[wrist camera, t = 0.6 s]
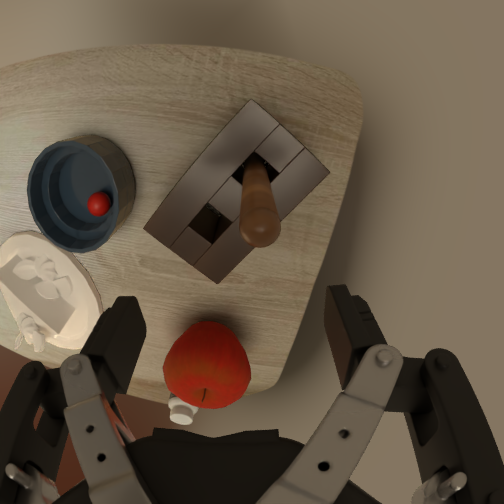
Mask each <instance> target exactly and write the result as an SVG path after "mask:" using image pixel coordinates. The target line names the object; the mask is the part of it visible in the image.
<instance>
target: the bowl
mask: <svg viewBox="0 0 504 504" xmlns="http://www.w3.org/2000/svg"><path fill="white" fill-rule="evenodd" d="M95 192H104V193H105V194H107V195H108V197H109V198H110V202H111V206H110V209H109V211H108V212H107V213H106V214H105V215H103V216H99V217H98V216H94V215H92V214H91V213H90V212H89V210H88V207H87V203H88V199H89V197H90V196H91V195H92V194H93V193H95ZM27 195H28V203H29V208H30V211H31V213H32V216H33V219H34V221H35V223H36V225H37V226H38V228H39V229H40V231H41V232H42V233H43V235H44V236H45V237H46V238H47V239H48V240H50V241H51V242H52V243H53V244H54V245H56V246H57V247H59V248H61V249H64V250H66V251H68V252H74V253H86V252H90V251H94V250H96V249H98V248H99V247H100V246H102V245H103V244H104V243H106V242H107V241H108V240H109V239H110V237H111V236H112V235H113V234H114V233H115V232H116V231H117V230H118V229H119V228H120V227H121V226H122V225H123V223H124V222H125V220H126V219H127V217H128V216H129V214H130V212H131V210H132V206H133V202H134V199H135V180H134V176H133V173H132V170H131V167H130V164H129V162H128V160H127V159H126V157H125V156H124V154H123V153H122V151H121V150H120V149H119V148H118V147H117V146H115V145H114V144H113V143H112V142H110V141H109V140H108V139H105V138H102V137H99V136H96V135H83V136H77V137H73V138H69V139H65V140H62V141H58V142H56V143H54V144H52V145H50V146H49V147H47V148H45V149H44V150H43V151H42V152H41V153H40V155H39V156H38V157H37V158H36V159H35V161H34V163H33V166H32V168H31V171H30V173H29V177H28V186H27Z"/></svg>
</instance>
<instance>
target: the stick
mask: <svg viewBox="0 0 504 504" xmlns="http://www.w3.org/2000/svg"><path fill="white" fill-rule="evenodd" d="M280 230H281V223H280V219H279V215H278V211H277V208H276V204H275V200H274V196H273V193H272V189H271V185H270V182H269V178H268V174H267V171H266V167H265V163H264V160H263V158H262V157H261V156H260V155H258V154H257V153H251V154H250V156H249V157H248V158H247V159H246V160H245V163H244V174H243V185H242V196H241V207H240V218H239V231H240V235H241V237H242V238H243V240H244V241H245V242H246V243H247V244H249V245H250V246H253V247H257V248H262V247H267V246H269V245H271V244H272V243H274V242H275V241H276V239H277V238H278V236H279V234H280Z"/></svg>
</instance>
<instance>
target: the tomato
mask: <svg viewBox="0 0 504 504" xmlns="http://www.w3.org/2000/svg"><path fill="white" fill-rule="evenodd" d="M110 206H111V202H110V198H109V197H108V195H107V194H105V193H104V192H95V193H93V194H92V195H91V196H90V197H89V199H88V203H87V207H88V210H89V212H90V213H91V214H92V215H94V216H98V217H99V216H103V215H105V214H106V213H107V212H108V211H109V209H110Z"/></svg>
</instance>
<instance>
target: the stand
mask: <svg viewBox="0 0 504 504" xmlns="http://www.w3.org/2000/svg"><path fill="white" fill-rule="evenodd" d="M253 151H255V152H256V153H257V154H258V155H260V156H261V157H262V158H263V159H264V160H265V161H266V162H268V163H269V164H268V166H267V167H266V171H267V174H268V178H269V182H270V185H271V189H272V193H273V196H274V200H275V204H276V208H277V211H278V215H279V219H280V222H281V221H282V220H283V219H284V218H285V217H286V216H287V215H288V214H289V213H290V212H291V211H292V210H293V209H294V208H295V207H296V206H297V205H298V204H299V203H300V202H301V201H302V200H303V199H304V198H305V197H306V196H307V195H308V194H309V193H310V192H311V191H312V190H313V189H314V188H315V187H316V186H317V185H318V184H319V183H320V182H321V181H322V180H323V179H324V178H325V177H326V176H327V175H328V174H329V173H330V171H329V170H328V169H327V168H326V167H325V166H324V165H323V164H322V163H321V162H320V161H319V160H318V159H317V158H316V157H315V156H314V155H313V154H312V153H311V152H310V151H309V150H308V149H307V148H306V147H305V146H304V145H303V144H302V143H300V142H299V141H298V140H297V139H296V138H295V137H294V136H293V135H292V134H291V133H290V132H289V131H288V130H287V129H285V128H284V127H283V126H282V125H281V124H280V123H279V122H278V121H277V120H276V119H274V118H273V117H272V116H271V115H270V114H269V113H268V112H267V111H265V110H264V109H263V108H262V107H261V106H260V105H258V104H257V103H256V102H255V101H254V100H253V99H250V100H249V101H248V102H247V103H246V104H245V105H244V106H243V108H242V109H241V110H240V111H239V112H238V113H237V114H236V115H235V116H234V117H233V118H232V119H231V120H230V122H229V123H228V124H227V125H226V126H225V127H224V128H223V129H222V130H221V132H220V133H219V134H218V135H217V136H216V137H215V138H214V139H213V141H212V142H211V143H210V144H209V145H208V146H207V148H206V149H205V150H204V151H203V152H202V153H201V155H200V156H199V157H198V158H197V159H196V161H195V162H194V163H193V164H192V165H191V167H190V168H189V169H188V170H187V172H186V173H185V174H184V175H183V176H182V178H181V179H180V180H179V181H178V183H177V184H176V185H175V187H174V188H173V189H172V190H171V192H170V193H169V194H168V196H167V197H166V198H165V199H164V201H163V202H162V203H161V205H160V206H159V207H158V209H157V210H156V211H155V213H154V214H153V215H152V217H151V218H150V220H149V221H148V222H147V224H146V225H145V226H144V228H143V229H144V230H145V231H147V232H148V233H149V234H150V235H152V236H153V237H154V238H156V239H157V240H158V241H159V242H161V243H162V244H163V245H165V246H166V247H167V248H169V249H170V250H172V251H173V252H174V253H176V254H177V255H178V256H180V257H181V258H182V259H184V260H185V261H186V262H188V263H189V264H190V265H192V266H193V267H194V268H196V269H197V270H198V271H200V272H201V273H202V274H204V275H205V276H207V277H208V278H209V279H211V280H212V281H213V282H215V283H216V284H219V283H220V282H221V281H222V280H223V279H224V278H225V277H226V276H227V275H228V274H229V273H230V272H231V271H232V270H233V269H234V268H235V267H236V266H237V265H238V264H239V263H240V262H241V261H242V260H243V259H244V258H245V257H246V256H247V255H248V254H249V253H250V252H251V251H252V250H253V249H254V248H255V247H253V246H250V245H249V244H247V243H246V242H245V241H244V240H243V238H242V237H241V235H240V231H239V218H240V207H241V196H242V185H243V174H244V169H243V168H242V167H241V166H240V165H241V164H242V163H243V162H244V161H245V160H246V159H247V158H248V157H249V156H250V154H251V153H252V152H253ZM207 202H208V203H209V204H210V205H212V206H213V207H214V208H215V209H217V210H218V211H219V212H220V213H222V215H221V216H220V217H218V216H217V215H216V214H215V213H213V212H212V211H211V210H210V209H208V208H207V207H206V206H205V205H206V204H207Z"/></svg>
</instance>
